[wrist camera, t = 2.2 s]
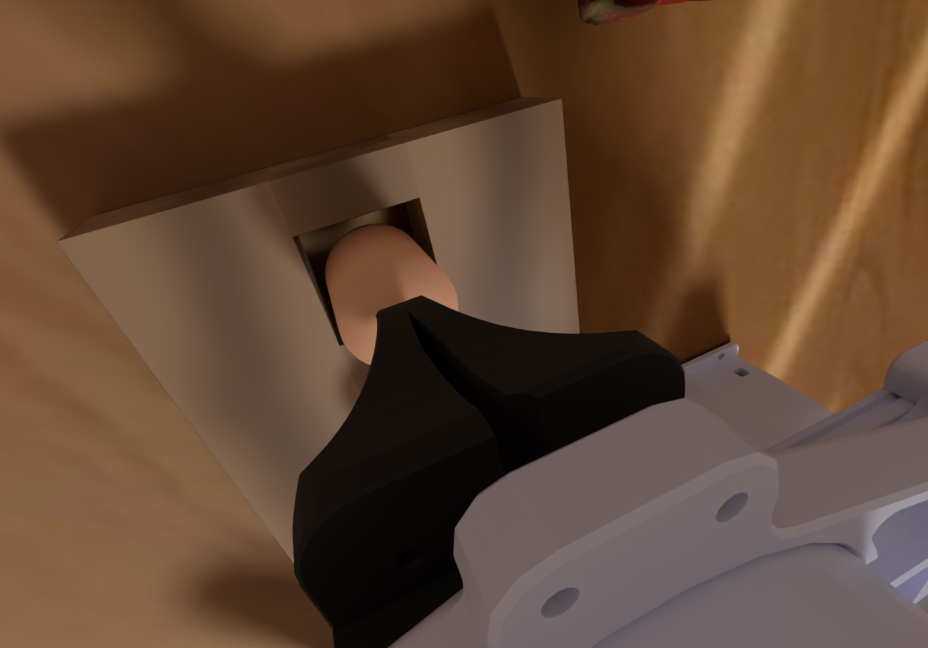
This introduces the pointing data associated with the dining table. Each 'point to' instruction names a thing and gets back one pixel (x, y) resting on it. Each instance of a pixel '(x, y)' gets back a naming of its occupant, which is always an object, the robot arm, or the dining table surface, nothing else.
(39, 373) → the dining table surface
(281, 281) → the walnut board
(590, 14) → the dragon fruit
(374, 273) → the terracotta plug
